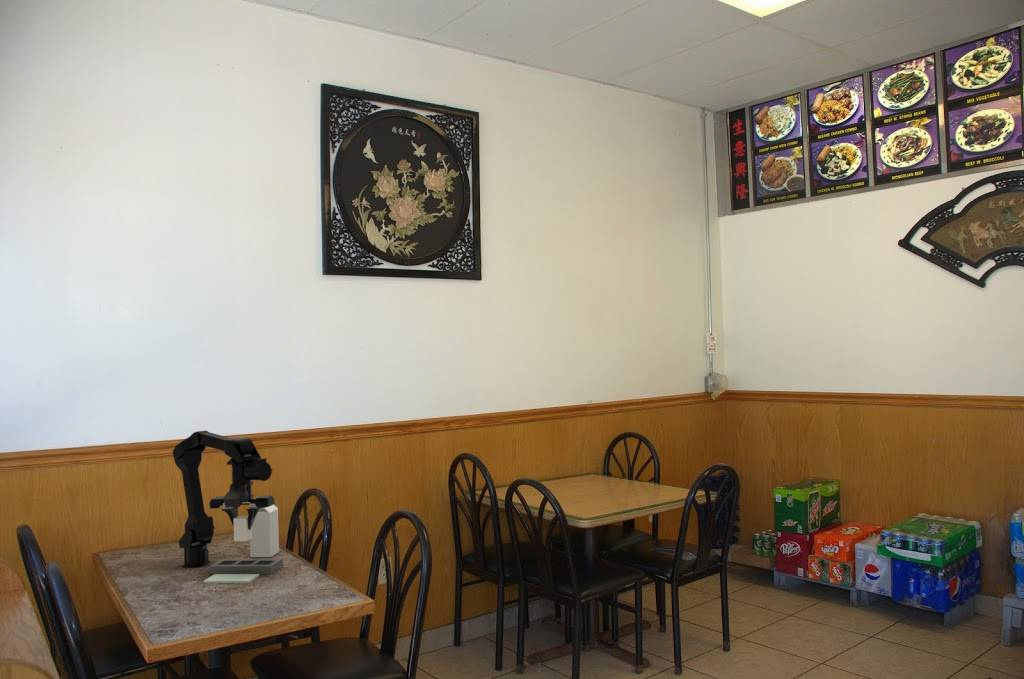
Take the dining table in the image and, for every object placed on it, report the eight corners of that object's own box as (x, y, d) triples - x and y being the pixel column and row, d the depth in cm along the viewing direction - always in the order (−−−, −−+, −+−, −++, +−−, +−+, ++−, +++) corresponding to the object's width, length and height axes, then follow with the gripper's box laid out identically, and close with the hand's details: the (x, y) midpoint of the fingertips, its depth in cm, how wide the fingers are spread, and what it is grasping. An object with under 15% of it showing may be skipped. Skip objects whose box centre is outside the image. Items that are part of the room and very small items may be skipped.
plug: (234, 541, 239) (233, 518, 239) (239, 538, 243) (239, 515, 243) (246, 541, 238) (246, 518, 238) (251, 538, 242) (251, 515, 242)
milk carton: (279, 552, 264) (277, 496, 265) (270, 557, 257) (269, 500, 258) (259, 552, 265) (257, 496, 265) (250, 557, 258) (248, 500, 258)
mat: (203, 582, 230) (203, 580, 230) (215, 576, 237) (215, 574, 237) (249, 582, 228) (249, 580, 228) (259, 576, 235) (259, 574, 235)
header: (208, 574, 239) (208, 566, 239) (222, 566, 248) (222, 558, 248) (271, 574, 237) (271, 566, 237) (282, 566, 246) (282, 558, 246)
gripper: (200, 484, 233) (201, 536, 233) (260, 483, 232) (261, 535, 232) (217, 478, 245) (218, 528, 244) (274, 477, 243) (275, 527, 243)
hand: (242, 529), depth 240 cm, fingers closed on plug, 4 cm apart
